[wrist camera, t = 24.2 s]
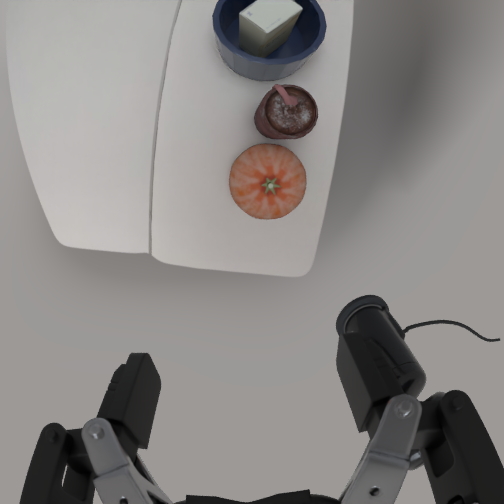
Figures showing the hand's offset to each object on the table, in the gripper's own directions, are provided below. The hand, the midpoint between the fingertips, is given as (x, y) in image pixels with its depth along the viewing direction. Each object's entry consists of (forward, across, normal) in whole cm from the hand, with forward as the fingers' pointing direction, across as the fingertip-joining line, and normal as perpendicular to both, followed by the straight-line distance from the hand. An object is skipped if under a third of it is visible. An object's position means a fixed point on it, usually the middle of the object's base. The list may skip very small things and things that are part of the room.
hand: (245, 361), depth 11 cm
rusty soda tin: (+34, +6, +11) cm, 37 cm away
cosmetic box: (+34, +6, +24) cm, 42 cm away
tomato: (+34, +4, +2) cm, 35 cm away
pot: (+34, +6, +24) cm, 42 cm away
